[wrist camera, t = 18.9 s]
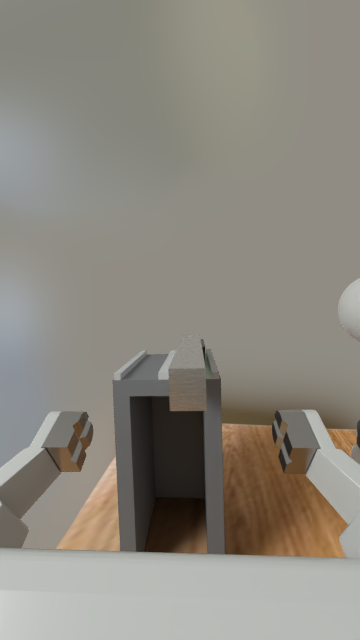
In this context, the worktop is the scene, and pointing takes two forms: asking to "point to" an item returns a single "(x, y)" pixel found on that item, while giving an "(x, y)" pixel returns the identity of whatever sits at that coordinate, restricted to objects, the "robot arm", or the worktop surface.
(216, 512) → the tall grey pillar
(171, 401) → the brushed metal post
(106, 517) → the worktop surface
